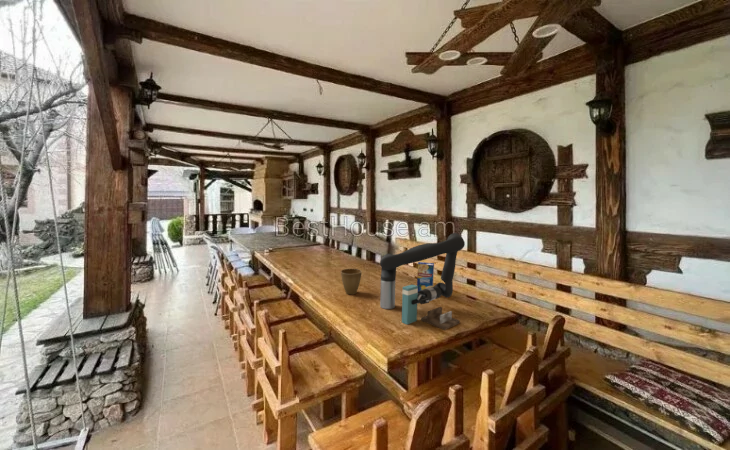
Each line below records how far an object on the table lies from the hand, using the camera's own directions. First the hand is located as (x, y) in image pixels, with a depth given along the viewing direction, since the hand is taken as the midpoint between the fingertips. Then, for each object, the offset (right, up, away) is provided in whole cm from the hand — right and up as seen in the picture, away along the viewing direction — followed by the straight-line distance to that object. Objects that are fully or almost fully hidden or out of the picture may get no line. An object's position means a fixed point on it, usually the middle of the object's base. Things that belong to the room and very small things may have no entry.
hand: (407, 301), depth 173 cm
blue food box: (+19, -7, +52) cm, 56 cm away
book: (+1, -12, +2) cm, 12 cm away
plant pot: (-34, -7, +51) cm, 61 cm away
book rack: (+18, -12, +2) cm, 22 cm away
